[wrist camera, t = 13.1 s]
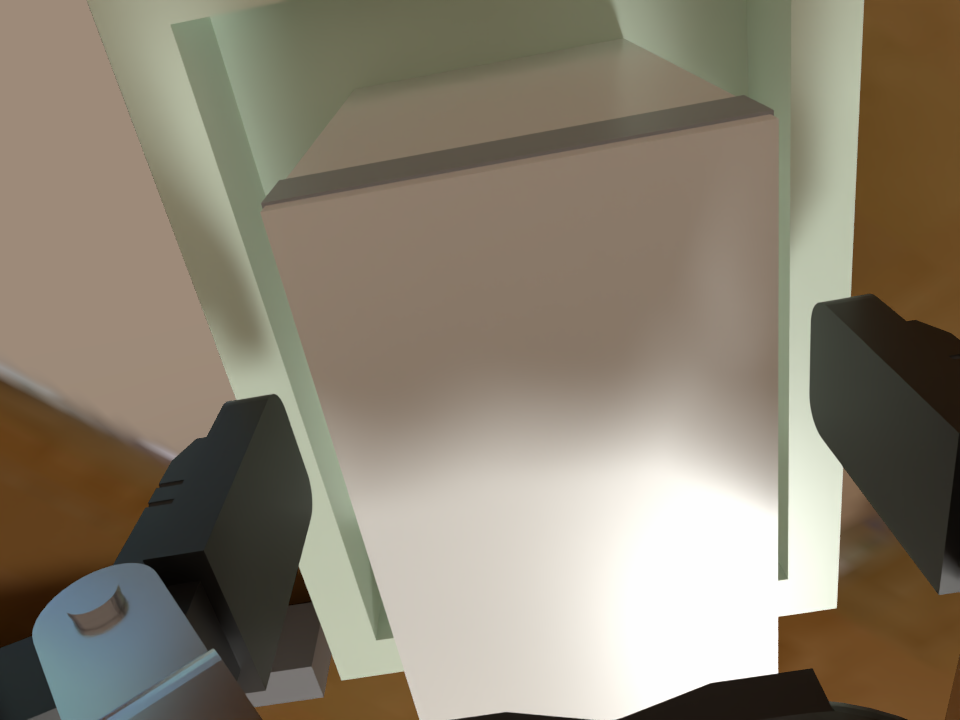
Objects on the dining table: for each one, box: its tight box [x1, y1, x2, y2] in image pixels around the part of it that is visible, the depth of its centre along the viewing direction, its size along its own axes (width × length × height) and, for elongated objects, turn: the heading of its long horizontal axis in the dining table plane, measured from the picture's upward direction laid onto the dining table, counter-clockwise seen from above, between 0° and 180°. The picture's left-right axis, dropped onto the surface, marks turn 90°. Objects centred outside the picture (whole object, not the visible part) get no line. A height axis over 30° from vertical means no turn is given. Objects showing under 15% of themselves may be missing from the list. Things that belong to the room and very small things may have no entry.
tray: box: [87, 0, 864, 680], centre depth 14 cm, size 10×14×2 cm
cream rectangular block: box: [260, 38, 779, 720], centre depth 12 cm, size 5×9×7 cm, turn 10°
